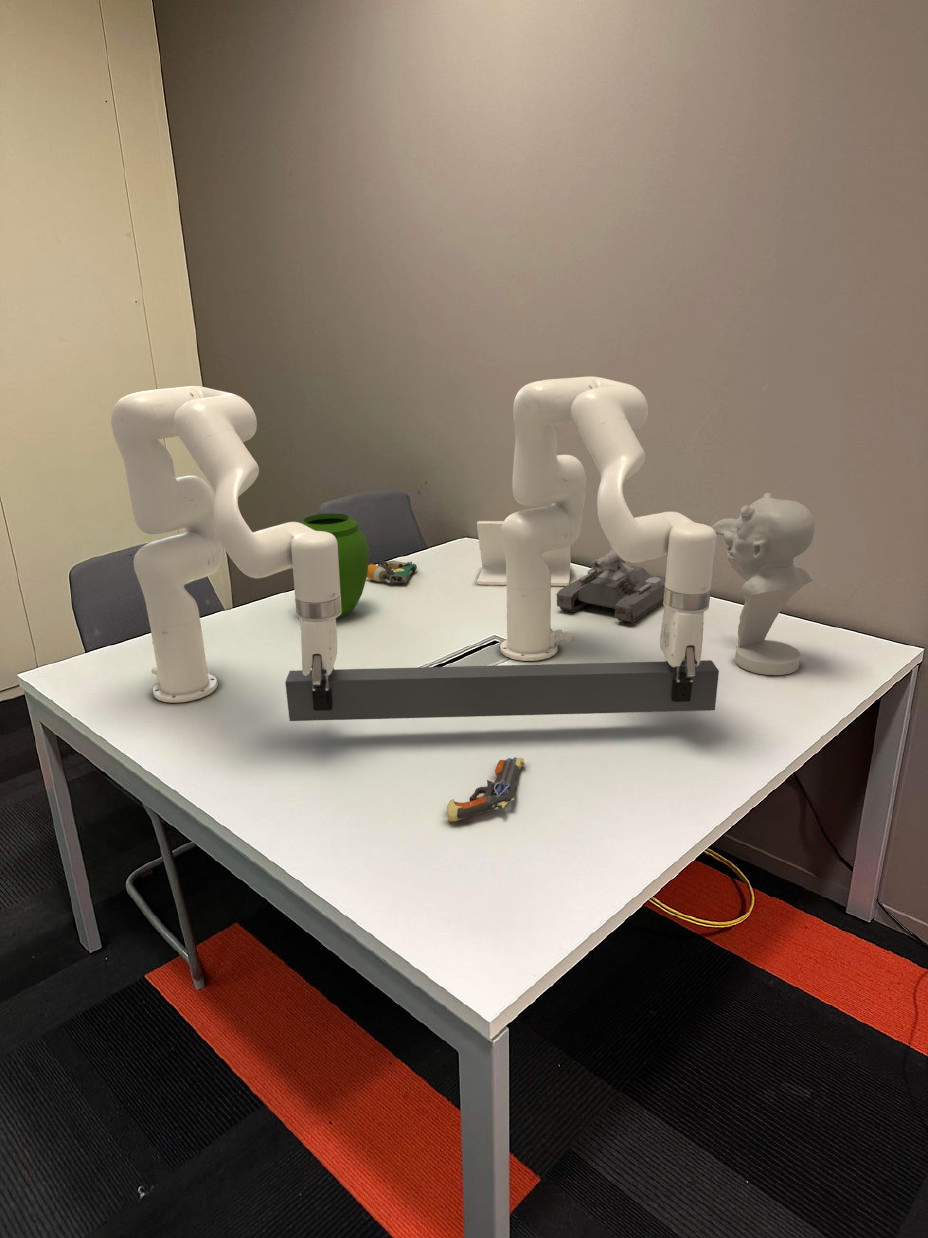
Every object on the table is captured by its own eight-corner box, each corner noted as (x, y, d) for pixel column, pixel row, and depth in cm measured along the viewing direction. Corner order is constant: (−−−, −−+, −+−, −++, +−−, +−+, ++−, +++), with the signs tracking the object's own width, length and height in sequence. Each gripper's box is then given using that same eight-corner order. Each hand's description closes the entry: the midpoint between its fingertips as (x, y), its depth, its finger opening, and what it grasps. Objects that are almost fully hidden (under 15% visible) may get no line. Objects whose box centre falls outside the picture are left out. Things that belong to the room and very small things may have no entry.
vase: (389, 608, 216) (383, 514, 208) (339, 633, 201) (330, 533, 192) (330, 596, 226) (322, 506, 218) (278, 619, 211) (267, 523, 202)
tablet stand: (569, 585, 229) (570, 524, 223) (476, 584, 232) (475, 523, 226) (570, 566, 246) (571, 508, 240) (484, 564, 249) (483, 507, 243)
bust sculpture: (735, 630, 196) (748, 478, 183) (821, 666, 176) (842, 499, 163) (681, 644, 189) (691, 488, 176) (764, 683, 169) (782, 510, 157)
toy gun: (442, 810, 126) (509, 808, 124) (466, 754, 144) (524, 752, 142) (445, 827, 127) (511, 825, 125) (468, 769, 145) (526, 767, 142)
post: (707, 698, 153) (711, 660, 150) (715, 710, 149) (719, 670, 146) (293, 709, 153) (289, 670, 150) (289, 721, 148) (285, 681, 146)
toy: (603, 584, 229) (605, 530, 224) (673, 597, 218) (677, 540, 213) (555, 612, 210) (556, 553, 205) (630, 627, 199) (633, 566, 194)
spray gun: (385, 567, 251) (431, 574, 246) (355, 581, 237) (403, 588, 231) (385, 553, 250) (431, 560, 244) (355, 566, 236) (403, 573, 230)
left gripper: (304, 588, 151) (311, 681, 157) (287, 624, 135) (295, 726, 142) (346, 588, 151) (351, 681, 158) (334, 624, 135) (340, 726, 142)
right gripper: (653, 580, 151) (645, 672, 158) (676, 616, 135) (666, 717, 142) (695, 579, 151) (685, 672, 158) (723, 616, 135) (711, 717, 142)
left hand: (325, 701), depth 150 cm, fingers closed on post, 4 cm apart
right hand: (677, 692), depth 150 cm, fingers closed on post, 4 cm apart
